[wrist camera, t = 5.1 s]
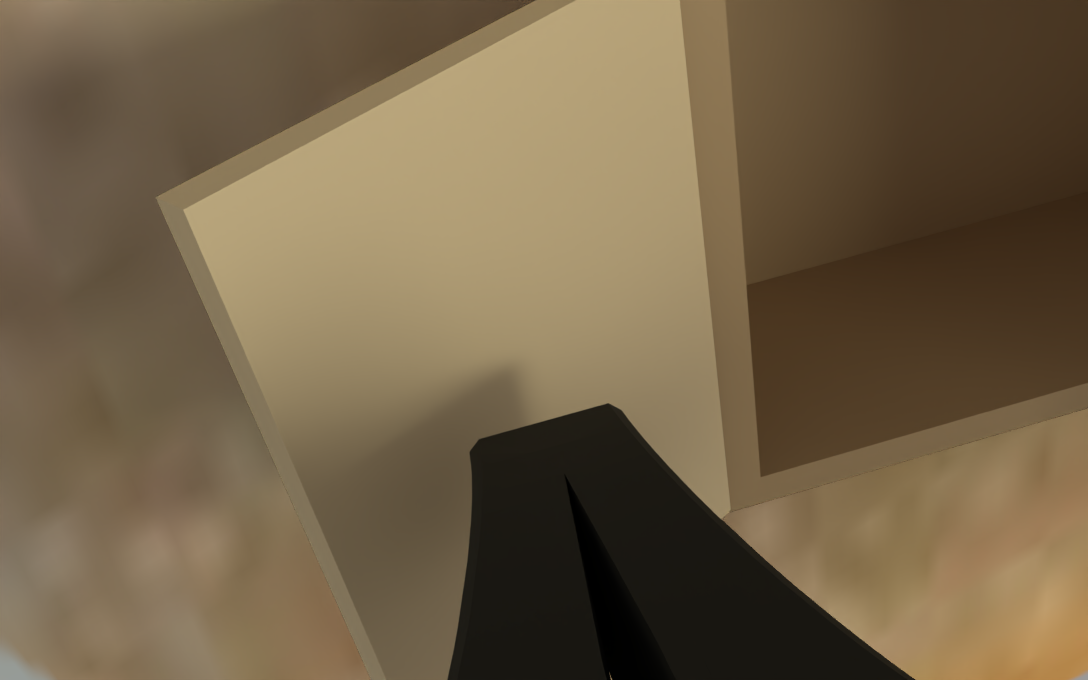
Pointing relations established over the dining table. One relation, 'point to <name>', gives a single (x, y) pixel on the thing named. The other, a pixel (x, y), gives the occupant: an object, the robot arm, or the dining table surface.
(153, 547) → the dining table surface
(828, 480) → the carton
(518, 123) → the flap
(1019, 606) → the dining table surface
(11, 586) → the dining table surface
